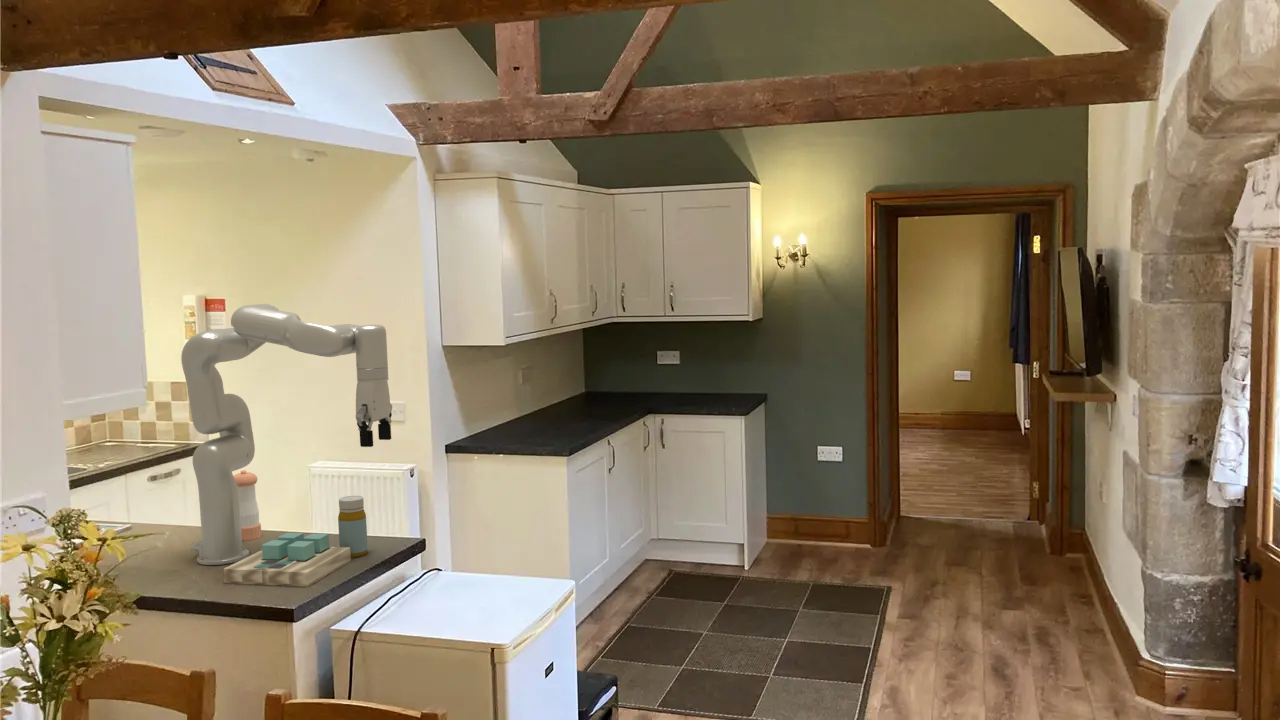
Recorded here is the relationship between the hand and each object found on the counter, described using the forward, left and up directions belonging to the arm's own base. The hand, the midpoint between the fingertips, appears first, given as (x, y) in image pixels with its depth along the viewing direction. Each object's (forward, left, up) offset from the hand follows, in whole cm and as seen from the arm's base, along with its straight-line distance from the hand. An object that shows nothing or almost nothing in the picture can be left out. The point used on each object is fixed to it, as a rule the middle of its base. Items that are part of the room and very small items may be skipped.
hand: (376, 443), depth 249 cm
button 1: (-24, -8, -28) cm, 38 cm away
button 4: (-18, -1, -27) cm, 33 cm away
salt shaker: (-51, +20, -31) cm, 63 cm away
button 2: (-25, -1, -28) cm, 37 cm away
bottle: (-12, +8, -31) cm, 35 cm away
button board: (-21, -8, -31) cm, 38 cm away
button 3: (-17, -8, -28) cm, 34 cm away
